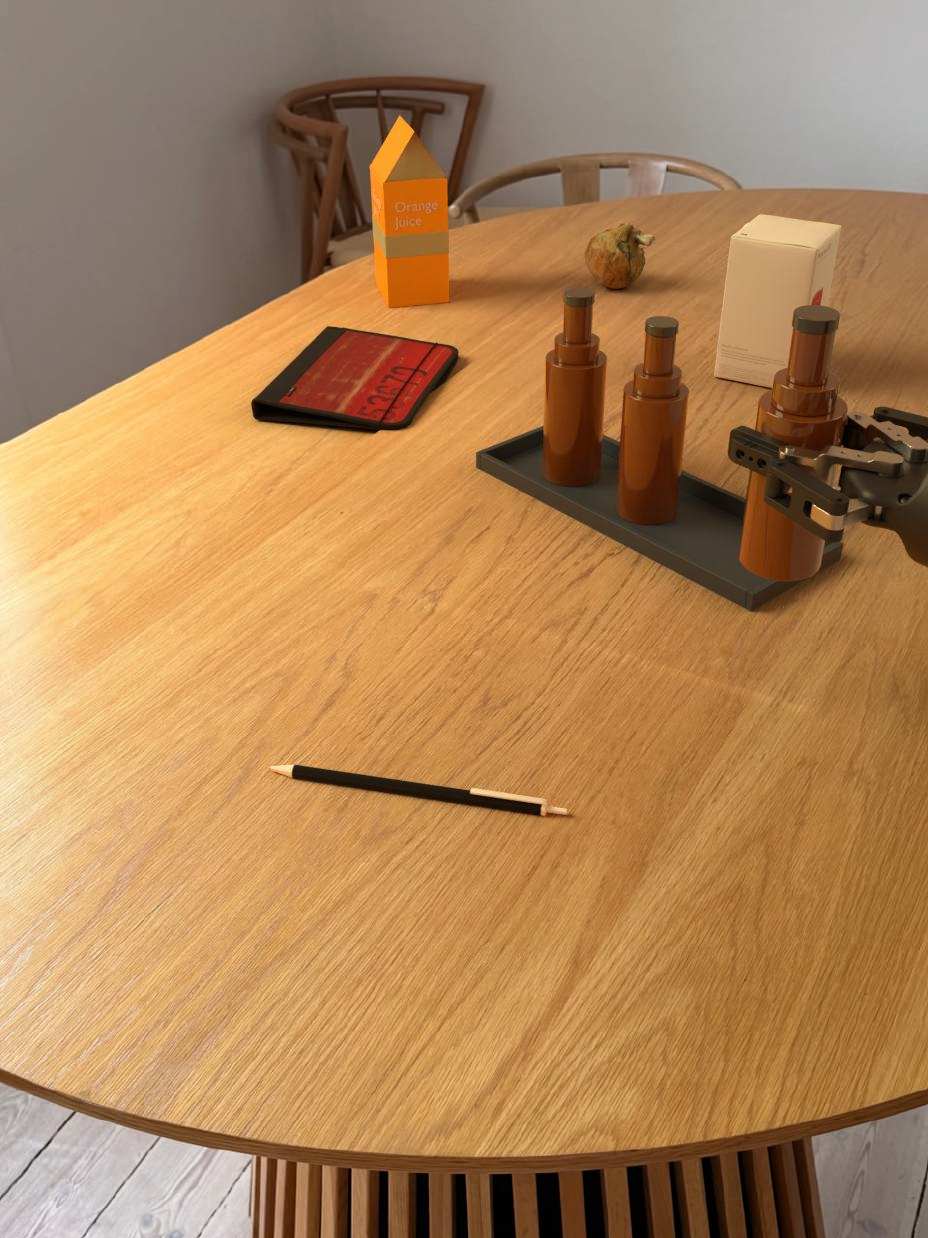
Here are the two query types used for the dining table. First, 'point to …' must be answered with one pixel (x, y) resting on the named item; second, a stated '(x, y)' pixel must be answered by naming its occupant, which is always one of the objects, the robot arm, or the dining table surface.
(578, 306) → the bottle
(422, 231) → the orange juice
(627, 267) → the onion
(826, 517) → the robot arm
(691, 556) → the tray
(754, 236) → the white product box
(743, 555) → the bottle
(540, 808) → the pen
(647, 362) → the bottle
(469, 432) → the dining table surface
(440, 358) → the binder
